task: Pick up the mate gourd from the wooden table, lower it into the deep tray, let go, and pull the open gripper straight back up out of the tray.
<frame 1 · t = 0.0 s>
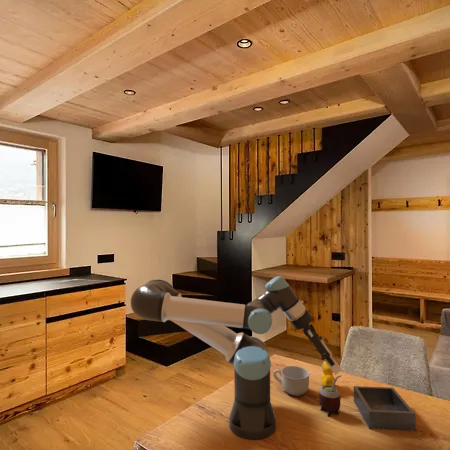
hand: (333, 363, 120), 15 cm above the table, tool tilted 35°, fingers open, 13 cm apart
mate gourd: (331, 413, 116), on the table
teacup: (291, 391, 132), on the table
tray: (382, 414, 115), on the table
duckling: (328, 387, 134), on the table
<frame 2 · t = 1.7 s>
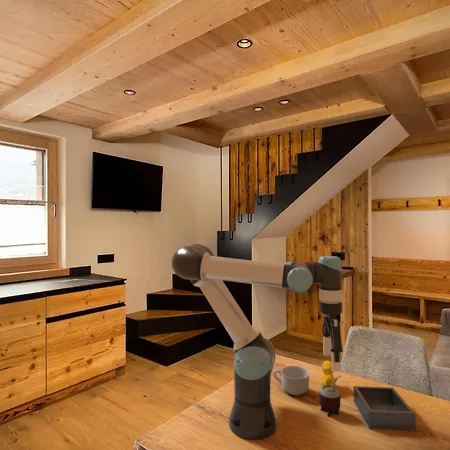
hand: (331, 362, 116), 17 cm above the table, tool pointing down, fingers open, 13 cm apart
nothing on the table moved.
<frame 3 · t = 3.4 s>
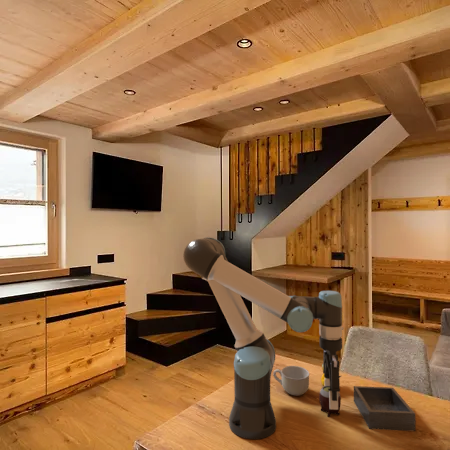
hand: (331, 402, 116), 3 cm above the table, tool pointing down, fingers closed on mate gourd, 7 cm apart
mate gourd: (331, 413, 116), on the table, touching gripper
everything else where it was.
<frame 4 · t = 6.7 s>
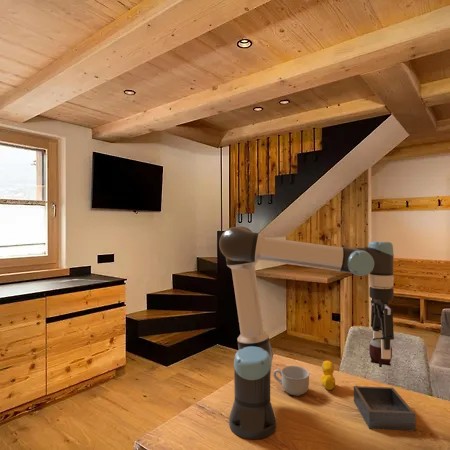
hand: (381, 353, 115), 21 cm above the table, tool pointing down, fingers closed on mate gourd, 7 cm apart
mate gourd: (382, 364, 114), point 17 cm above the table, touching gripper
everything else where it was.
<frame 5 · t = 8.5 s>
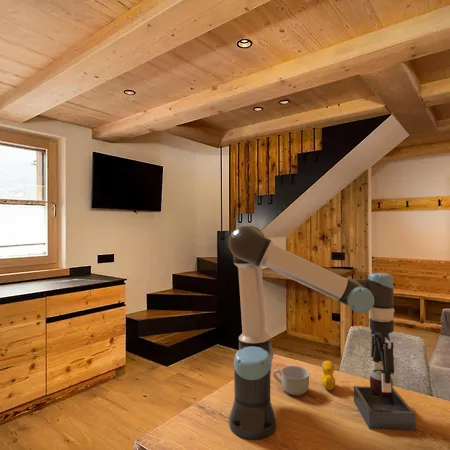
hand: (382, 386, 115), 10 cm above the table, tool pointing down, fingers closed on mate gourd, 7 cm apart
mate gourd: (382, 397, 114), point 6 cm above the table, touching gripper
everything else where it was.
when the fingers open (6 cm above the table, at t = 9.8 s): mate gourd drops 1 cm, resting on tray.
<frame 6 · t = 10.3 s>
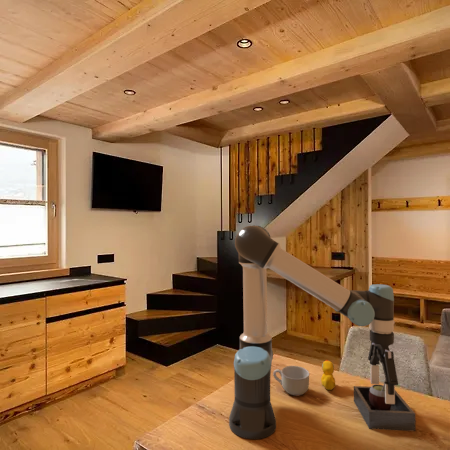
hand: (381, 393, 115), 7 cm above the table, tool pointing down, fingers open, 13 cm apart
mate gourd: (381, 412, 115), point 1 cm above the table, touching tray
everything else where it was.
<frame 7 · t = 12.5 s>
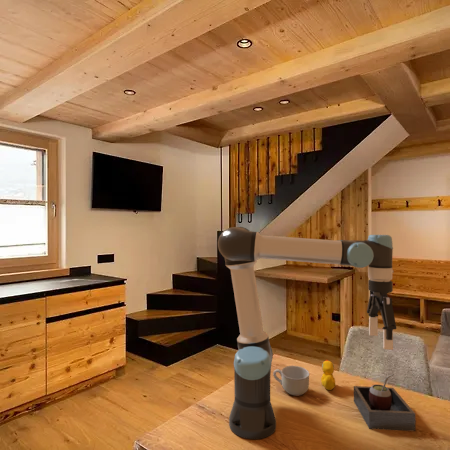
hand: (380, 341, 115), 25 cm above the table, tool pointing down, fingers open, 13 cm apart
nothing on the table moved.
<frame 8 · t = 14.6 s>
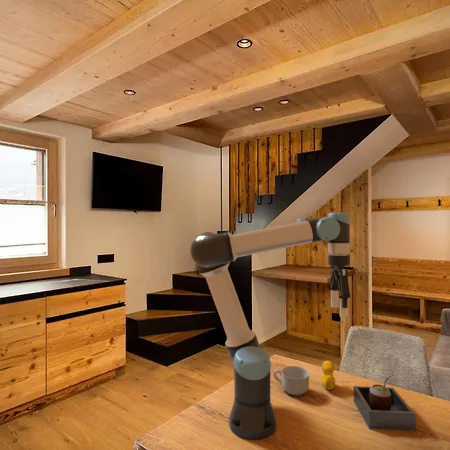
hand: (339, 311, 124), 33 cm above the table, tool pointing down, fingers open, 13 cm apart
nothing on the table moved.
at the end: mate gourd inside the target area on the tray (0.2 cm from its centre), point 0.8 cm above the tray's base; mate gourd tilted 0°; the gripper is holding nothing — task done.
